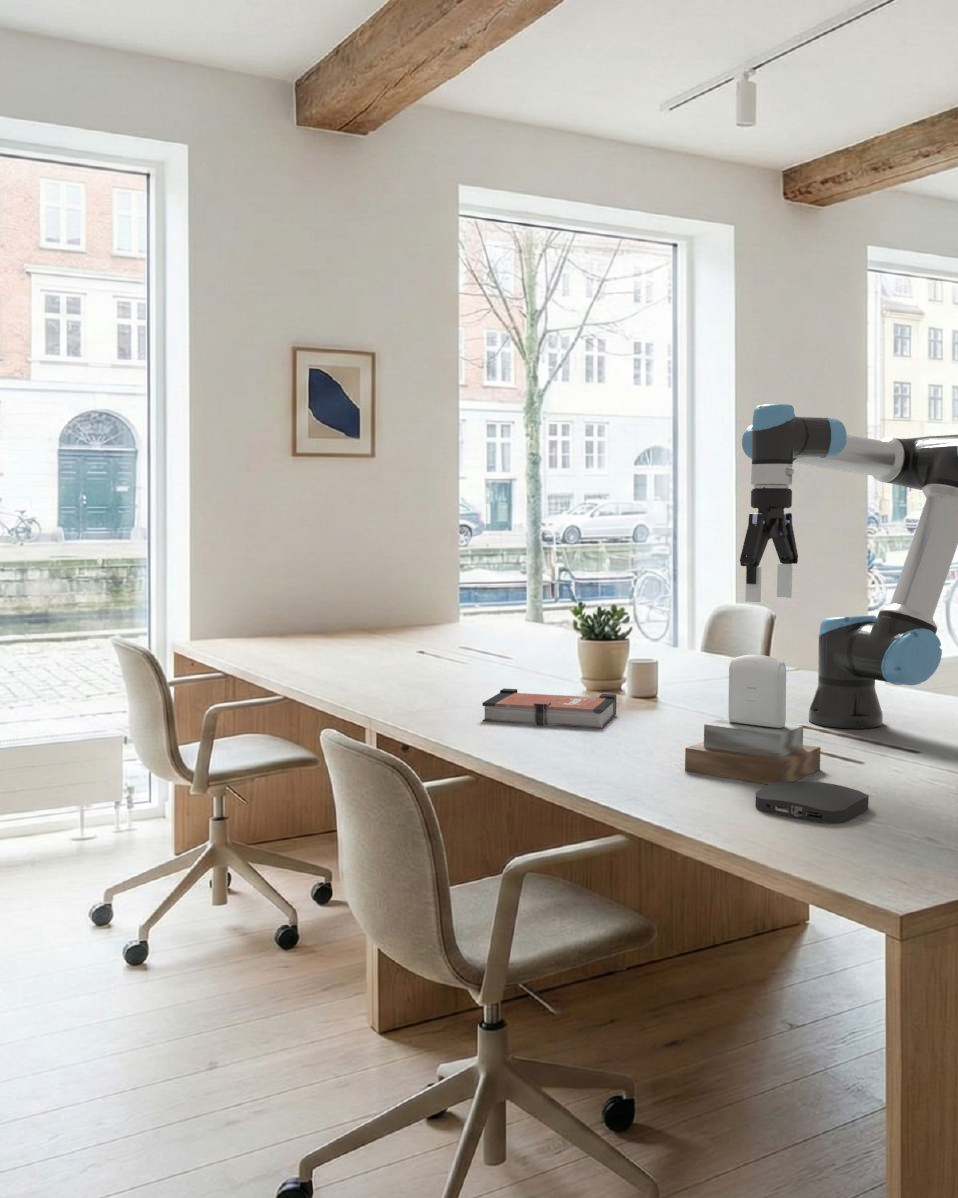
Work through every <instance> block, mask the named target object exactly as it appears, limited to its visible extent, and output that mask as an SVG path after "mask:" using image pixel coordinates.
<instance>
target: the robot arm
mask: <svg viewBox="0 0 958 1198" xmlns="http://www.w3.org/2000/svg"><path fill="white" fill-rule="evenodd" d="M741 437H742V438H741V447H742V451H743V452H744V454H745V456H747V457H748V458H749V459H751V469H750V470H751V471H750V472H751V475H750V485H751V486H753V488H752V489H751V490H750V507H751V508H752V509H757V512H750V513H749V514H748V524H747V529H746V532H745V537H744V540H743V546H742V550H741V553H740V557H739V563H740V566H741V567H745V602H747V603H748V602H749V603H751V602H752V603H761V602H762V601H761V600H762V566H759V565H760V563H761V560H762V559H763V556H764V553H765V550H766V548H767V545H768V542H769V540H772V542H773V546H774V550H776V555H777V557H778V559H779V563H777V570H776V571H777V573H776V574H777V576H776V577H777V578H776V598H788V599H789V598H790V599H791V598H793V596H792V591H793V590H792V589H793V564H795V565H797V564H798V562H799V553H798V549H797V543H796V538H795V531H794V526H793V515H792V513H791V512H785V509H790V508H792V506H793V505H792V504H793V503H792V502H793V490H792V488H790V487H789V486H792V484H793V475H794V474H795V469H794V468H793V464H797V465H798V464H799V465H805V466H810V467H816V468H822V469H829V470H830V469H831V470H835V471H843V472H848V473H854V474H860V475H867V476H872V477H873V478H874V479H875V480H876V481H877V482H880V483H885V484H886V483H887V484H890V485H891V484H892V485H896V486H901V487H905V488H909V489H913V490H919V491H922V493H923V494H924V497H925V499H926V500H925V502H924V506H923V509H922V511H921V513H920V514H921V515H920V517H919V520H918V523H917V526H916V529H915V532H914V534H913V537H912V540H911V543H910V546H909V548H908V551H907V555H906V558H905V560H904V564H903V566H902V569H901V572H900V574H899V578H898V580H897V583H896V586H895V588H894V592H893V595H892V598H891V600H890V602H889V603H890V604H889V605H888V606H886V607H884V608H882V609H880V610H879V611H878V614H877V616H876V615H874V614H873V615H871V614H870V615H857V616H853V615H852V616H839V617H837V616H835V617H826V618H824V619H822V620H821V621H820V625H819V634H818V670H817V671H818V674H817V675H818V676H817V677H818V679H817V680H818V681H817V688H816V691H815V694H814V696H813V699H812V702H811V704H810V707H809V709H808V721H809V722H810V723H813V724H815V725H819V726H823V727H828V728H829V727H830V728H839V729H872V728H878V727H881V726H883V724H884V723H883V721H884V720H883V718H884V716H883V710H882V708H881V704H880V700H879V698H878V695H877V691H876V681H880V682H885V683H890V684H892V685H896V686H916V685H917V686H918V685H920V684H922V683H925V682H927V680H929V679H930V678H932V676H933V675H934V674H935V672H936V671H937V670H938V668H939V666H940V663H941V660H942V656H943V650H942V648H941V646H942V643H941V641H940V638H939V637H938V635H937V631H938V625H937V624H936V623H935V621H934V615H935V613H936V609H937V606H938V604H939V600H940V598H941V595H942V592H943V589H944V586H945V584H946V580H947V577H948V574H949V572H950V569H951V566H952V563H953V560H954V557H955V553H956V551H957V548H958V434H948V435H947V434H946V435H929V436H922V437H921V436H920V437H912V438H895V437H885V438H883V439H881V440H880V439H872V438H868V437H862V436H856V435H850V434H847V428H846V426H845V425H844V423H843V422H842V421H840V420H839V419H838V418H830V417H827V416H825V417H809V416H800V417H799V416H796V414H795V408H794V406H793V405H791V404H787V403H786V404H785V403H771V404H770V403H769V404H767V403H766V404H760V405H757V406H756V407H755V408H754V410H753V414H752V424H751V425H749V426H748V427H747V428H746V429H745V430H744V432H743V434H742V436H741Z"/></svg>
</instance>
